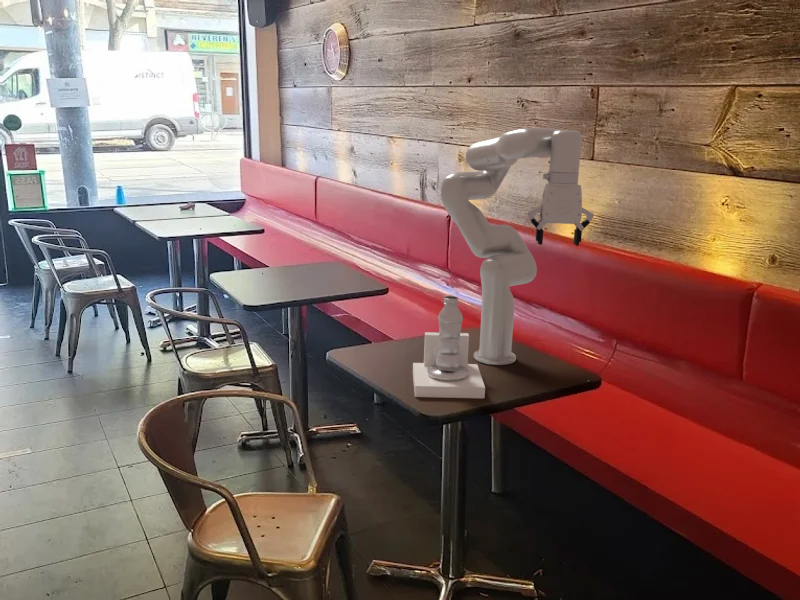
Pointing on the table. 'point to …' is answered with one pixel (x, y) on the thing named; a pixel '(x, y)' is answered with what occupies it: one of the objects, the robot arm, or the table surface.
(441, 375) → the scale pan
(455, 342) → the plastic bottle
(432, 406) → the table surface
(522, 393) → the table surface
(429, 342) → the scale
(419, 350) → the table surface
